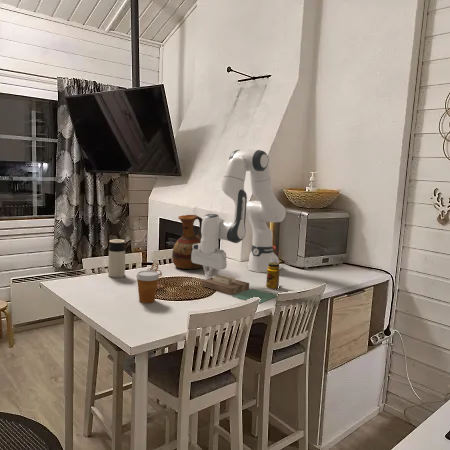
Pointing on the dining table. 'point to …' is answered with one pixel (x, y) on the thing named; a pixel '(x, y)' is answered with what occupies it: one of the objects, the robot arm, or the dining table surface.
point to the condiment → (273, 276)
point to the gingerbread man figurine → (156, 271)
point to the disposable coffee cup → (147, 285)
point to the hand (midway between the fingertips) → (207, 274)
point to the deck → (226, 286)
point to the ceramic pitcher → (186, 243)
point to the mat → (255, 295)
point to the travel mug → (116, 258)
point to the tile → (223, 279)
